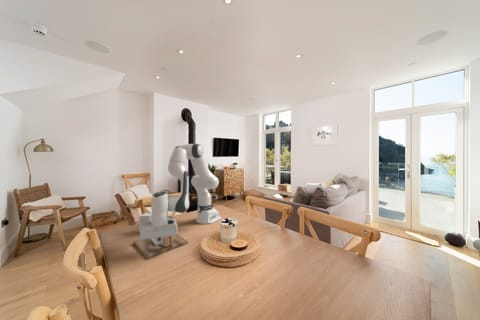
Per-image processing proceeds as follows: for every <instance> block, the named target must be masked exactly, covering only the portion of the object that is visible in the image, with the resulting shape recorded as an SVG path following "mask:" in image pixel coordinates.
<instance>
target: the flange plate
mask: <svg viewBox="0 0 480 320" xmlns="http://www.w3.org/2000/svg"><path fill="white" fill-rule="evenodd" d="M157 240H158V239H157ZM151 241H152V243H153V244H154V245H155V246H157V242H156V241H155V238H152V239H151ZM169 242H170V239H169V237H168V236H167V237H164V240H162V244H161V245H162V246H163V247H166V246H169Z"/></svg>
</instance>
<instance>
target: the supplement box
mask: <svg viewBox="0 0 480 320" xmlns="http://www.w3.org/2000/svg"><path fill="white" fill-rule="evenodd" d="M151 215H152V212H144V213H142V214H141V215H139V225H140V224H141V223H142V222H150V221H151ZM139 225H138V226H139ZM138 231H139V233H138V234H140V230H139V229H138Z"/></svg>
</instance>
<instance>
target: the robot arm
mask: <svg viewBox="0 0 480 320" xmlns="http://www.w3.org/2000/svg"><path fill="white" fill-rule="evenodd" d="M188 160H190V162H191V165H192V168H193V171H194V174H196V175H193V176H192V177H191V180H190V173H189V171H187V164H188V162H187V161H188ZM167 170H168V172H169V174H170V175H171V176H173V177H175V178H176V179H178V180H179V181H180V194H179V195H173V194H169V193H167V191H157V192H155V193H153V195H152V197H151V203H150V208H151V213H152V215H151V221H150V222H142V223H141V224H140V225H138V231H139V230H140V233H139V236H138V237H139V238H138V240H145V239H152V238H155V241H156V242H157V245H161V244H162V240H163V239H164V237H167V236H174V235H178V233H179V232H178V231H179V229H178V223H177V221H176V220H177V219H176V217H175V216H172V215H169V213H168V212H175V213H180V214H184V213H185V212H186V211H187V210H188V209H189V208H190V183H191V185H192V186H193V187H194V189H195V191H196V194H197V205H196V206H197V210H196V211H197V215H196V219H195V222H196V223H197V224H201V225H202V224H203V225H204V224H205V225H206V224H208V225H211V224H214V223H216V222H217V221H220V220H222V219H221V218H222V216H220V213H219V211H218V210H217V209H216V208H215V206H216V204H214V203H212V195H211V193H210V192H209V191H208V189H209V190H215V189H216V188H217V187H218V186H219V183H220V181H219V178H218V177H217V176H215V175H214V174H213V173H212V171H210V168H209V167H208V165H207V162H206V158H205V155H204V149H203V147H202V145H201V144H199V143H187V144H183V145H182V144H180V145H177V146H175V148H174V149H173V150H172V153H171V156H170V158H169V161H168V167H167ZM219 219H220V220H219ZM159 237H161V240H160V241H158V240H157V239H158V238H159Z"/></svg>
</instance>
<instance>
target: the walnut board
mask: <svg viewBox="0 0 480 320" xmlns="http://www.w3.org/2000/svg"><path fill="white" fill-rule="evenodd" d="M168 237H169V239H170V242H169V246H166V247H163V246H162V245H157V246H155V245H154V244H153V243H152V241H151V239H145V240H140V239H136V240H134V241H132V244H133V245H134V247H135V248H136V249H137V250H138V251H139V252H140V253H141V254H142V255H143V256H144V257H145V258H146V259H147V260H150V259H153V258H155V257H158V256H160V255H162V254H165V253H168V252H170V251H172V250H175V249H177V248H180V247H183V246H185V245H188V244H189V241H188V240H187V239H185V238H184V237H182V236H180V235H178V234H177V235H174V236H168ZM160 240H161V237H159V238H158V241H160ZM163 240H164V239H163Z"/></svg>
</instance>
